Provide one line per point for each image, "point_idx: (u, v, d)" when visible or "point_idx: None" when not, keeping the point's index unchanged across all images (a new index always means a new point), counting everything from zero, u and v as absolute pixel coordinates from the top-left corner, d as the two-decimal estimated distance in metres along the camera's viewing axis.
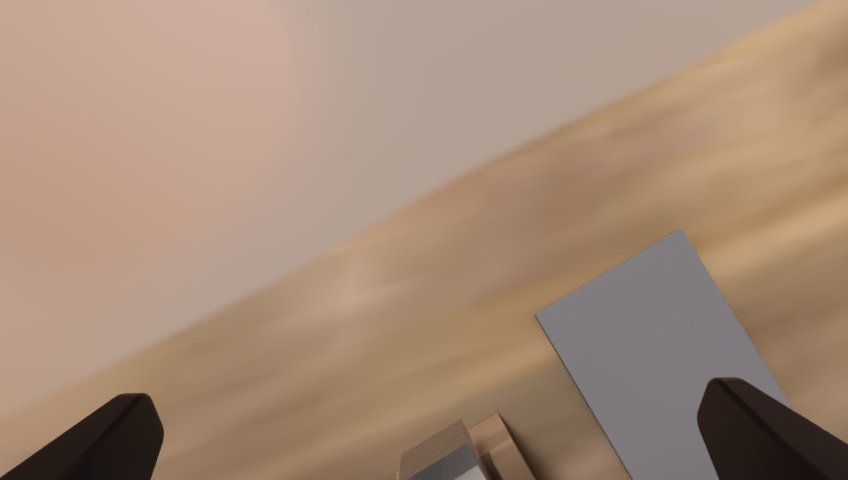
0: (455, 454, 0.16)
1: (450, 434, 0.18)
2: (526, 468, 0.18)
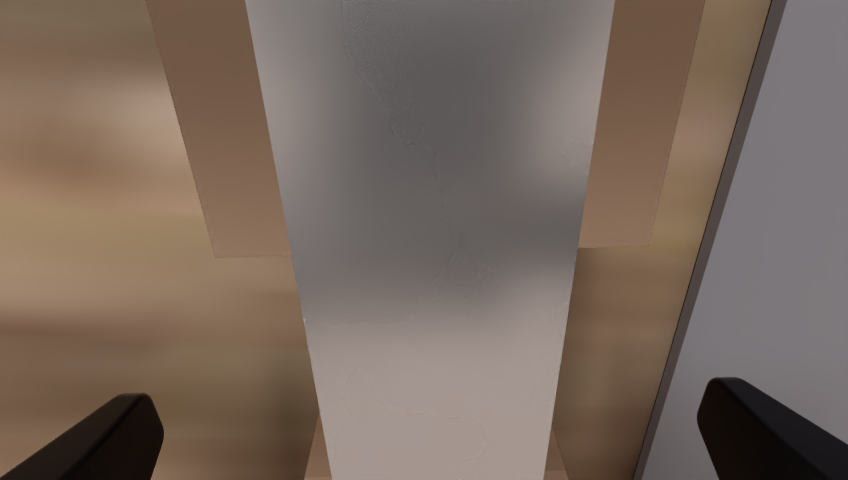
0: None
1: None
2: None
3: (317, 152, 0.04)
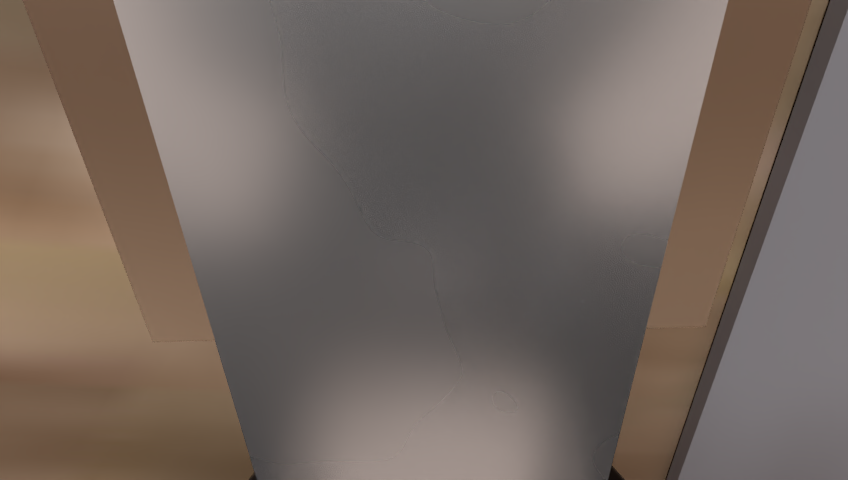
0: None
1: None
2: None
3: (256, 251, 0.03)
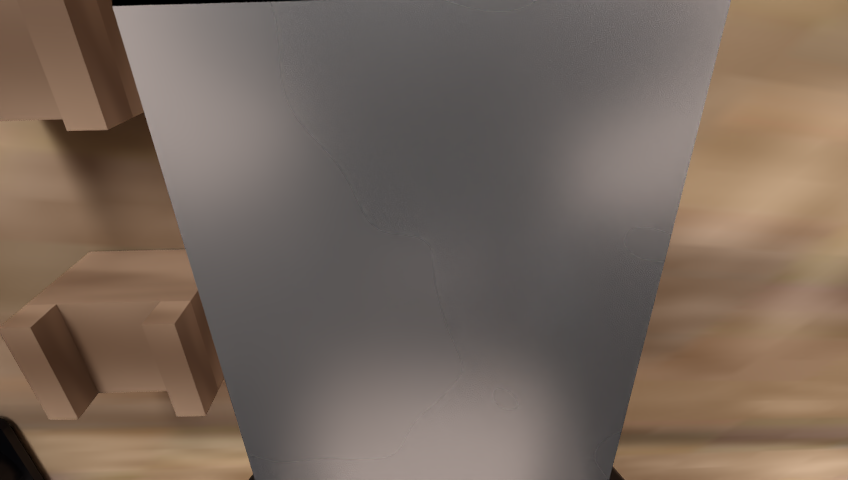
0: None
1: None
2: None
3: (253, 245, 0.03)
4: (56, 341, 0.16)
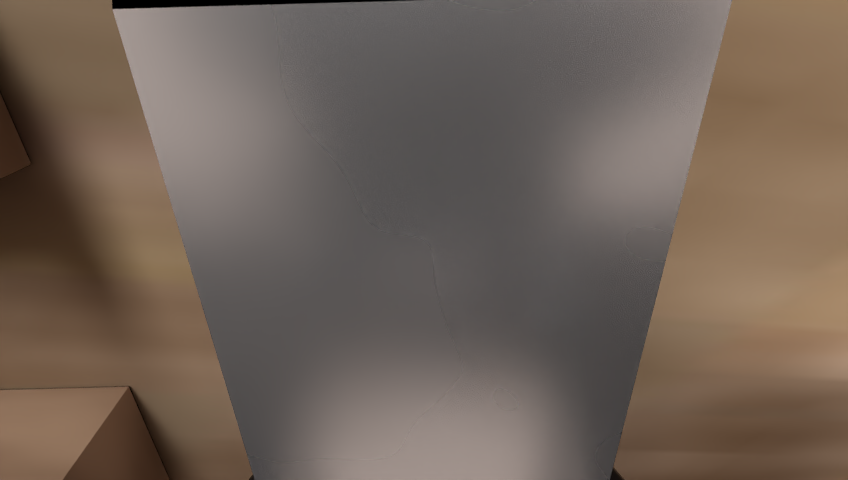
0: None
1: None
2: None
3: (253, 243, 0.03)
4: None
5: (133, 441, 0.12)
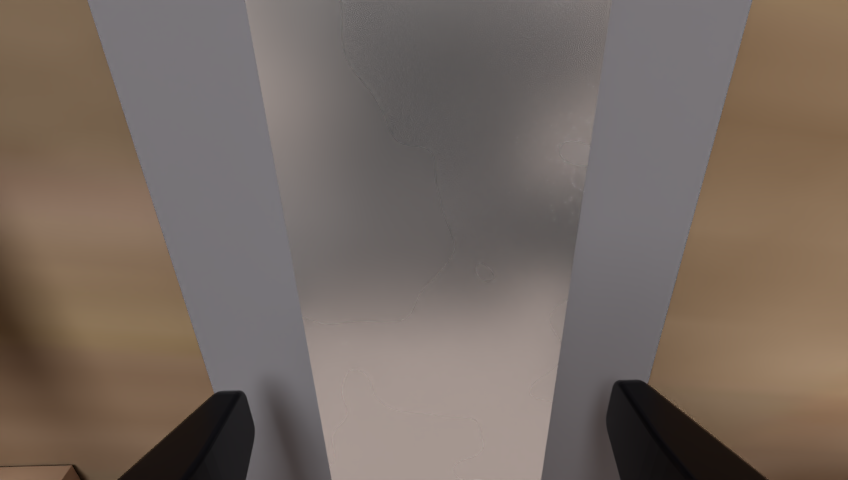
0: None
1: None
2: None
3: (317, 153, 0.04)
4: None
5: None
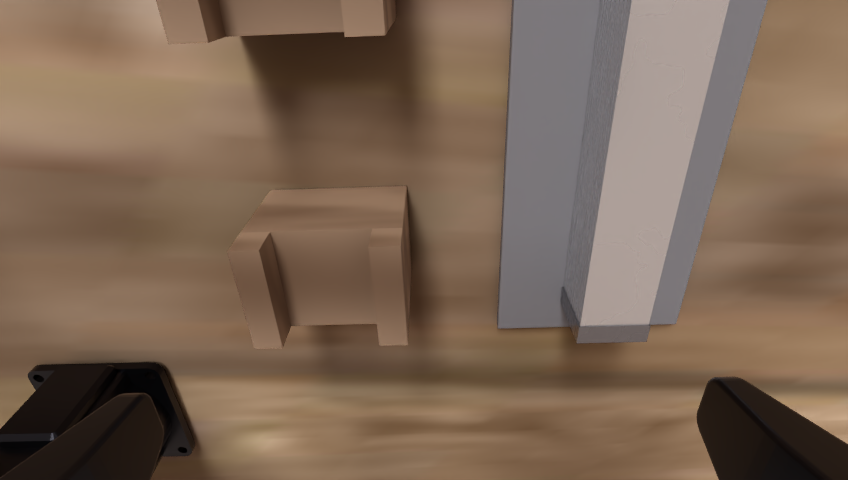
0: None
1: None
2: None
3: None
4: (270, 268, 0.16)
5: (407, 222, 0.19)
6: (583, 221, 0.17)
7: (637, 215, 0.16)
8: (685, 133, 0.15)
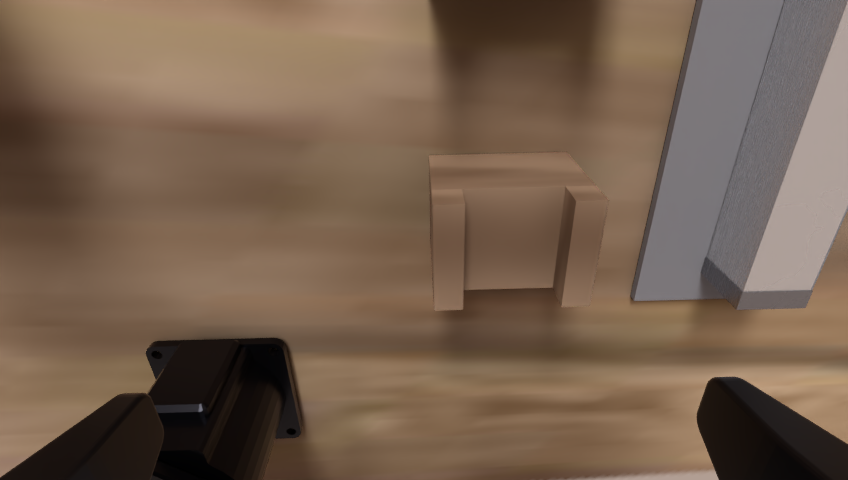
0: None
1: None
2: None
3: None
4: None
5: None
6: (754, 185, 0.18)
7: (823, 175, 0.16)
8: None
